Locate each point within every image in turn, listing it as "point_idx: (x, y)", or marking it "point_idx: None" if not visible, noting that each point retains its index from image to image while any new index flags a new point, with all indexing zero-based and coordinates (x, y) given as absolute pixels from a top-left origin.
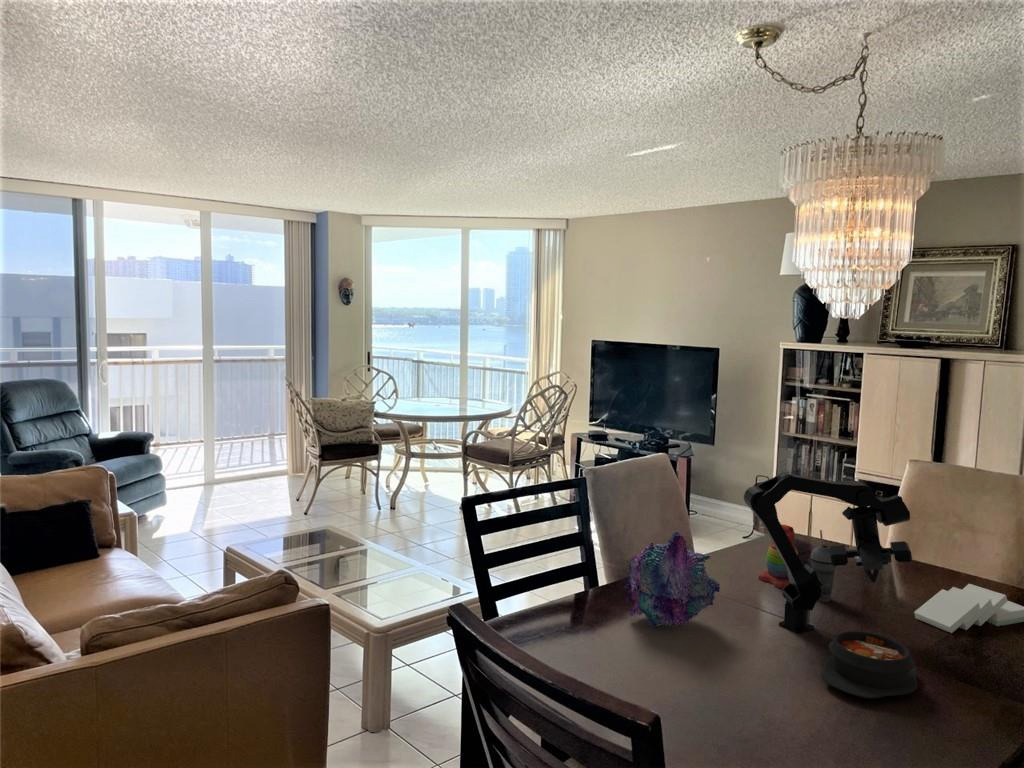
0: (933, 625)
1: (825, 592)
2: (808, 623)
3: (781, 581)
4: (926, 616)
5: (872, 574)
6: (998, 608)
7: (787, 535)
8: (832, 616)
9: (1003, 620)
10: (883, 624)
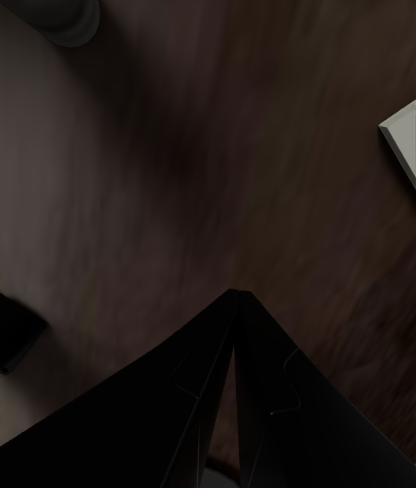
0: (409, 178)
1: (56, 25)
2: (23, 323)
3: None
4: (413, 164)
5: (238, 326)
6: None
7: None
8: (102, 204)
9: None
10: (254, 219)
